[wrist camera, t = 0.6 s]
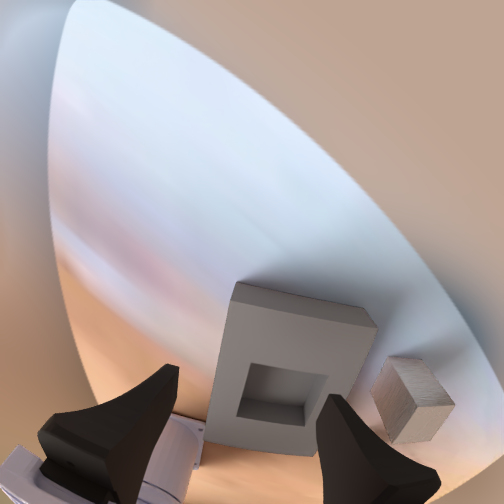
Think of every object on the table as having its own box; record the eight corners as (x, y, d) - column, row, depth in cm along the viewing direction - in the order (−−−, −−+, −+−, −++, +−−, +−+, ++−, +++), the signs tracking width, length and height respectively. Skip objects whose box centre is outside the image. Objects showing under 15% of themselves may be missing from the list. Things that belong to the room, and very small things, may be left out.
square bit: (403, 392, 23) (430, 440, 16) (369, 391, 23) (391, 444, 16) (421, 359, 22) (455, 405, 15) (387, 356, 22) (418, 407, 15)
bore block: (309, 431, 24) (312, 456, 21) (209, 414, 24) (202, 440, 21) (363, 308, 21) (378, 328, 18) (236, 282, 21) (230, 300, 18)
